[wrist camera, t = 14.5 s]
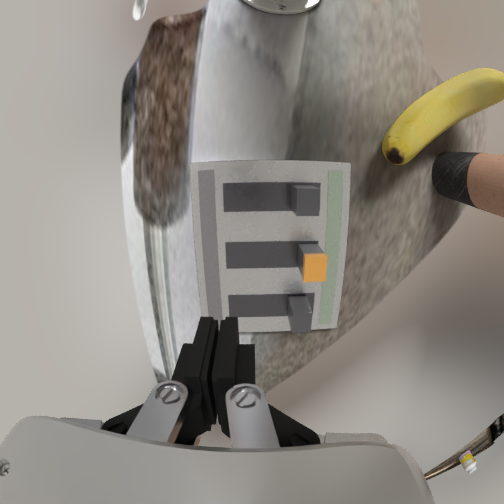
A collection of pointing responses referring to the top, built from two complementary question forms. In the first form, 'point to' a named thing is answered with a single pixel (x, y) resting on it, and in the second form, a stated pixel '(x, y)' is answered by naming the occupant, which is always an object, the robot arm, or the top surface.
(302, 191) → the block
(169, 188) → the top surface
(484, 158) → the travel mug
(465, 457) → the supplement bottle
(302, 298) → the breaker far
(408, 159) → the banana
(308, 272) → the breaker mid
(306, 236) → the panel
